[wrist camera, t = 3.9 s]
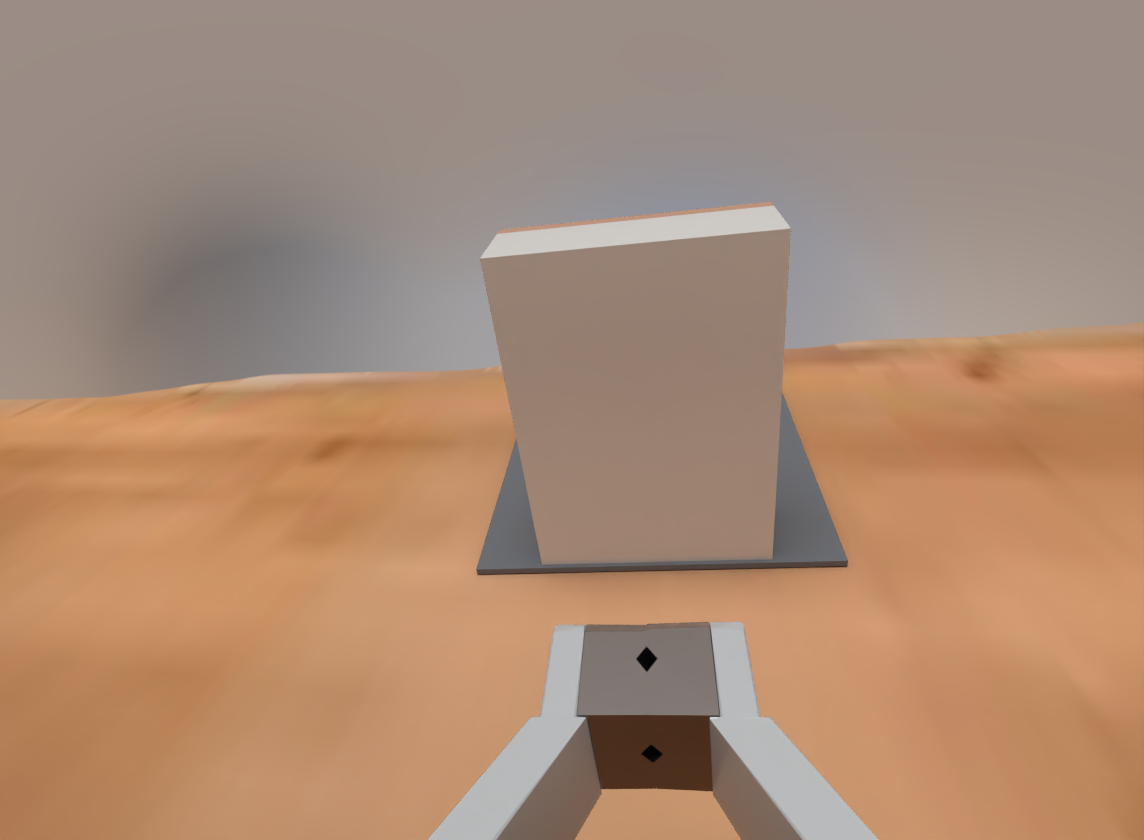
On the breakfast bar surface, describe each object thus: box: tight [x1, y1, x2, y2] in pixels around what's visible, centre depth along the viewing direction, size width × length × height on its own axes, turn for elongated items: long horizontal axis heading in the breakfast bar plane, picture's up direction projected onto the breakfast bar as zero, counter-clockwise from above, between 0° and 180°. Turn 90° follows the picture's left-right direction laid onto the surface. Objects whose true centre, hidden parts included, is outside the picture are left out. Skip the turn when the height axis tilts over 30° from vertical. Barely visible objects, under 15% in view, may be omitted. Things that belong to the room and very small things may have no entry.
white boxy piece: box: [480, 202, 791, 565], centre depth 25 cm, size 10×4×14 cm, turn 85°
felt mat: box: [476, 394, 848, 574], centre depth 34 cm, size 16×16×1 cm
